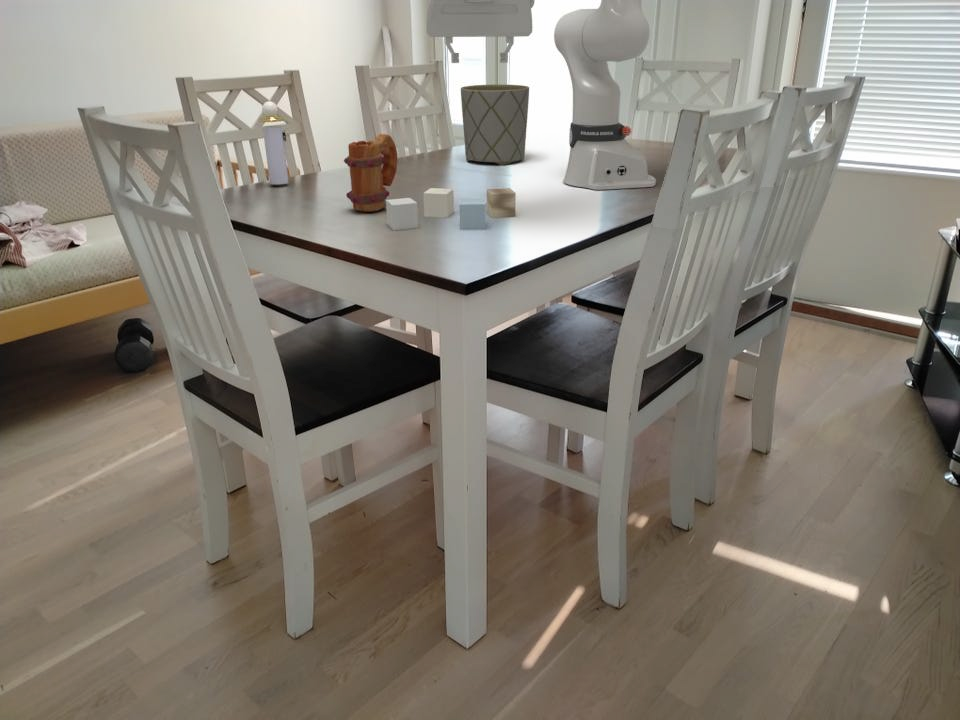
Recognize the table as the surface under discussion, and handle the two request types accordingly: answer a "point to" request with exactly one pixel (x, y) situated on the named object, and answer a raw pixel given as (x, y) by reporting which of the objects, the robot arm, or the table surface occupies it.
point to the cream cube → (438, 202)
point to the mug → (371, 172)
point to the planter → (495, 122)
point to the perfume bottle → (274, 145)
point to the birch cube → (501, 202)
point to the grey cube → (402, 213)
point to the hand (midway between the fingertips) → (479, 62)
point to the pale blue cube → (472, 214)
